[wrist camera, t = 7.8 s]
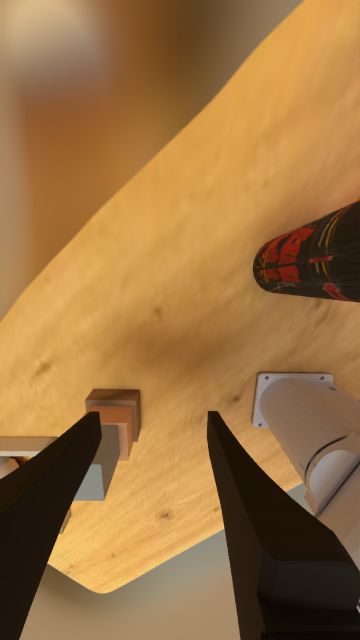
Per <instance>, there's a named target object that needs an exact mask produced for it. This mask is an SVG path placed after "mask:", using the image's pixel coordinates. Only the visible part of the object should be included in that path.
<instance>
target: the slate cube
mask: <svg viewBox="0 0 360 640" xmlns="http://www.w3.org/2000/svg"><path fill="white" fill-rule="evenodd" d="M101 430H102V439H101V442H100V445H99V448H98V450H97V453H96V455H95V457H94V459H93V462H92V464H91V466H90V468H89V470H88V472H87V474H86V476H85V478H84V480H83V482H82V484H81V486H80V488H79V490H78V492H77V494H76V496H75V498H74V500H86V501H104V500H105V497H106V494H107V491H108V488H109V486H110V483H111V480H112V477H113V474H114V471H115V468H116V465H117V462H118V459H119V456H120V453H119V437H118V425H101Z"/></svg>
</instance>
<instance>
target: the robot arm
mask: <svg viewBox="0 0 360 640" xmlns="http://www.w3.org/2000/svg"><path fill="white" fill-rule="evenodd" d="M266 376H267V378H265V377H266ZM333 379H334V377H333V375H331V374H327V373H260V374H259V375H258V379H257V386H256V394H255V402H254V410H253V418H252V425H253V426H254V427H256V428H270V429H271V431H272V433H273V434H274V436H275V437H276V439H277V441H278V442H279V444H280V445H281V447H282V449H283V450H284V452H285V453H286V455H287V457H288V458H289V460H290V461H291V463H292V465H293V466H294V468H295V469H296V471H297V473H298V474H299V476H300V477H301V479H302V481H303V482H304V484H305V485H306V487H307V493H306V494H305V496H304V498H305V499H306V501H307V503H308V505H309V506H310V508H311V510H312V512H313V513H314V516H313V515H311V514H310V513H309V512H308V511H306V510H305V509H304V508H303V507H302V506H300V505H299V504H298V503H297V502H295V500H293V499H292V498H291V497H290V496H289V495H288V494H287V493H286V492H285V491H284V490H282V489H281V488H280V487H279V486H278V485H277V484H276V483H275V482H274V481H273V480H272V479H271V478H270V477H269V476H268V475H267V474H266V473H265V472H264V471H263V470H262V469H261V468H260V467H259V466H258V465H257V463H256V462H255V461H254V460H253V459H252V458H251V457H250V455H249V454H248V453H247V452H246V451H245V449H244V448H243V447H242V446H241V444H240V443H239V442H238V440H237V439H236V438H235V436H234V435H233V434H232V432H231V431H230V429H229V428H228V427H227V425H226V424H225V422H224V420H223V419H222V417H221V416H220V414H219V412H218V411H208V421H207V442H208V449H209V456H210V460H211V465H212V469H213V473H214V478H215V482H216V486H217V491H218V495H219V499H220V504H221V509H222V515H223V522H224V528H225V534H226V541H227V547H228V554H229V561H230V567H231V574H232V581H233V588H234V595H235V602H236V609H237V616H238V624H239V631H240V638H241V640H360V400H358V399H357V398H355V397H354V396H352V395H351V394H349V393H348V392H346V391H344V390H343V389H341V388H340V387H338V386H337V385H335V384H334V383H333ZM259 423H260V424H259ZM101 439H102V430H101V422H100V414H99V411H90V412H89V413H87V414H86V415H85V416H84V417H83V418H81V419H80V420H79V421H78V422H77V423H75V424H74V425H73V426H72V427H71V428H70V429H68V430H67V431H66V432H65V433H63V434H62V435H61V436H60V437H59V438H57V439H56V440H55V441H54V442H52V443H51V444H50V445H48V446H47V447H46V448H45V449H43V450H42V451H41V452H39V453H38V454H37V455H35V456H34V457H33V458H31V459H30V460H28V461H27V462H25V463H24V464H23V465H21V466H20V467H18V468H17V469H15V470H14V471H12V472H11V473H9V474H8V475H6V476H4V477H3V478H1V479H0V640H19V638H20V636H21V633H22V630H23V627H24V624H25V621H26V619H27V616H28V613H29V610H30V607H31V605H32V602H33V599H34V597H35V594H36V591H37V588H38V586H39V583H40V581H41V578H42V575H43V573H44V570H45V567H46V564H47V562H48V560H49V557H50V555H51V552H52V550H53V547H54V545H55V542H56V539H57V537H58V535H59V532H60V530H61V527H62V525H63V522H64V520H65V518H66V515H67V513H68V510H69V508H70V506H71V504H72V502H73V500H74V498H75V496H76V494H77V492H78V490H79V488H80V486H81V484H82V482H83V480H84V478H85V476H86V474H87V472H88V470H89V468H90V466H91V464H92V462H93V459H94V457H95V455H96V453H97V450H98V448H99V445H100V442H101Z"/></svg>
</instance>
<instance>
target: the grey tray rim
mask: <svg viewBox="0 0 360 640" xmlns="http://www.w3.org/2000/svg"><path fill="white" fill-rule="evenodd" d="M56 439H57V438H54V437H0V456H35V455H37V454H38V453H39V452H41V451H42V450H43V449H45V448H46V447H47V446H48V445H50V444H51V443H52V442H54V441H55V440H56ZM70 516H71V513H70V508H69V510H68V513H67V515H66V518H65V520H64V522H63V525H62V527H61V530H60V532H59V534H63V532H64V529H65V527H66V525H67V523H68V521H69V519H70Z"/></svg>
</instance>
